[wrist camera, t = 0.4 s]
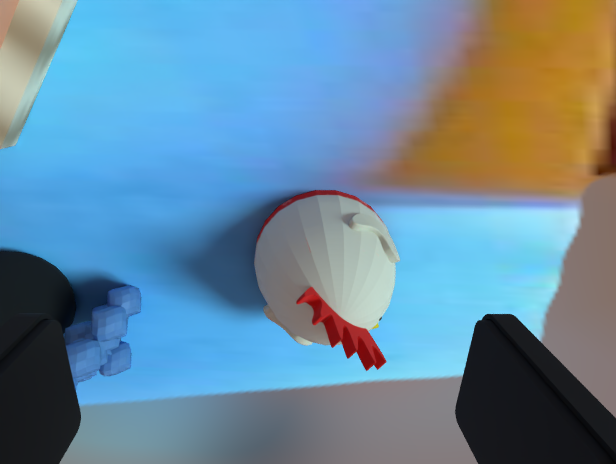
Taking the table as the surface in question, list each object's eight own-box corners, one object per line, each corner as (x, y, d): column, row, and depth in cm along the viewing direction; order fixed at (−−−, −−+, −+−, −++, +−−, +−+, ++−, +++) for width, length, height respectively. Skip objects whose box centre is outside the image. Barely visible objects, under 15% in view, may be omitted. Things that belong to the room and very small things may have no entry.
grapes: (118, 362, 43) (62, 461, 32) (63, 329, 41) (-17, 422, 30) (183, 295, 41) (146, 377, 30) (127, 256, 39) (66, 329, 28)
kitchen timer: (325, 332, 44) (346, 452, 30) (227, 261, 40) (199, 362, 26) (416, 247, 40) (486, 337, 27) (319, 160, 36) (343, 212, 23)
